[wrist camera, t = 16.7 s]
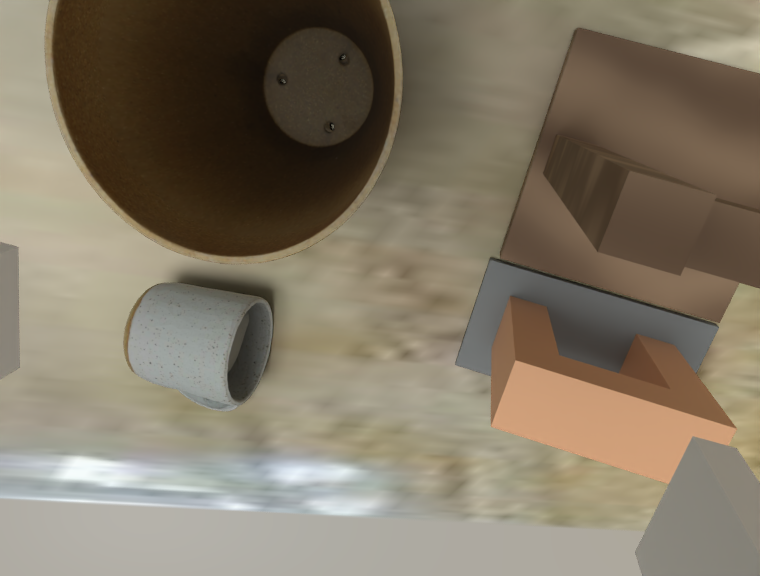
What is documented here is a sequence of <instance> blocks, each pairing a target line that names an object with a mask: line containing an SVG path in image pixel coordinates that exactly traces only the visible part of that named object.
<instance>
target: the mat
mask: <svg viewBox="0 0 760 576" xmlns="http://www.w3.org/2000/svg"><path fill="white" fill-rule="evenodd" d="M510 296H513V297H516V298H519V299H523V300H526V301H529V302H533V303H536V304H539V305H543V306H546V307H547V310H548V314H549V318H550V321H551V325H552V329H553V333H554V337H555V341H556V345H557V348H558V352H559V355H560V356H564V357H567V358H570V359H573V360H577V361H580V362H583V363H586V364H590V365H593V366H596V367H599V368H603V369H606V370H609V371H612V372H616V373H619V372H620V370H621V367H622V365H623V363H624V360H625V358H626V356H627V354H628V351H629V349H630V347H631V345H632V342H633V340H634V338H635V336H636V334H639V335H643V336H646V337H649V338H653V339H656V340H659V341H663V342H666V343H669V344H673V345H675V346H676V348H677V349H678V350H679V352H680V353H681V354H682V356H683V357H684V358H685V360H686V361H687V362H688V364H689V365H690V366H691V368H692V369H693V370H694V372H695V373H697V371H698V369H699V367H700V365H701V363H702V361H703V359H704V357H705V355H706V353H707V351H708V349H709V347H710V345H711V343H712V340H713V338H714V336H715V334H716V332H717V330H718V328H719V327H718V326H717V325H716V324H714V323H711V322H707V321H704V320H700V319H697V318H694V317H690V316H687V315H683V314H680V313H677V312H673V311H670V310H666V309H663V308H660V307H656V306H653V305H649V304H646V303H643V302H639V301H636V300H632V299H629V298H626V297H622V296H619V295H616V294H612V293H609V292H605V291H602V290H599V289H595V288H592V287H588V286H585V285H582V284H578V283H575V282H571V281H568V280H565V279H561V278H558V277H554V276H551V275H548V274H544V273H541V272H538V271H534V270H531V269H527V268H524V267H521V266H517V265H514V264H510V263H507V262H504V261H500V260H497V259H493V258H490V260H489V263H488V266H487V269H486V272H485V275H484V278H483V281H482V284H481V287H480V290H479V293H478V296H477V299H476V302H475V305H474V308H473V311H472V314H471V317H470V320H469V323H468V326H467V329H466V332H465V335H464V339H463V342H462V345H461V348H460V351H459V354H458V357H457V360H456V364H455V365H457V366H460V367H463V368H467V369H470V370H473V371H476V372H479V373H483V374H486V375H489V376H491V349H492V345H493V343H494V340H495V337H496V334H497V331H498V328H499V326H500V323H501V320H502V317H503V314H504V311H505V308H506V306H507V303H508V300H509V297H510Z"/></svg>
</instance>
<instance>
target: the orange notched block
mask: <svg viewBox="0 0 760 576" xmlns="http://www.w3.org/2000/svg"><path fill="white" fill-rule="evenodd" d="M491 427H493V428H496V429H500V430H503V431H506V432H509V433H512V434H515V435H518V436H521V437H524V438H527V439H531V440H534V441H537V442H540V443H543V444H546V445H549V446H552V447H555V448H559V449H562V450H565V451H568V452H571V453H574V454H577V455H580V456H583V457H587V458H590V459H593V460H596V461H599V462H602V463H605V464H608V465H611V466H614V467H618V468H621V469H624V470H627V471H630V472H633V473H636V474H639V475H642V476H646V477H649V478H652V479H655V480H658V481H661V482H664V483H667V484H669V483H670V481H671V479H672V477H673V475H674V473H675V471H676V469H677V467H678V465H679V463H680V461H681V459H682V457H683V455H684V453H685V451H686V449H687V447H688V445H689V443H690V441H691V439H692V437H693V436H695V437H698V438H702V439H705V440H709V441H712V442H716V443H720V444H723V445H727V446H728V445H729V443H730V441H731V439H732V438H733V436H734V434H735V432H736V430H737V428H736V427H735V425H734V424H733V423H732V421H731V420H730V419H729V417H728V416H727V415H726V413H725V412H724V411H723V409H722V408H721V407H720V405H719V404H718V403H717V401H716V400H715V399H714V397H713V396H712V395H711V393H710V392H709V391H708V389H707V388H706V387H705V385H704V384H703V383H702V381H701V380H700V379H699V377H698V376H697V374H696V373H695V372H694V370H693V369H692V368H691V366H690V365H689V364H688V362H687V361H686V360H685V358H684V357H683V356H682V354H681V353H680V352H679V350H678V349H677V348H676V346H675V345H673V344H669V343H666V342H663V341H659V340H656V339H653V338H649V337H646V336H643V335H639V334H636V336H635V338H634V340H633V342H632V345H631V347H630V349H629V351H628V354H627V356H626V358H625V360H624V363H623V365H622V367H621V370H620V372H619V373H616V372H612V371H609V370H606V369H603V368H599V367H596V366H593V365H590V364H586V363H583V362H580V361H577V360H573V359H570V358H567V357H564V356H560V355H559V352H558V348H557V345H556V341H555V337H554V333H553V329H552V325H551V321H550V318H549V314H548V310H547V307H546V306H543V305H539V304H536V303H533V302H529V301H526V300H523V299H519V298H516V297H513V296H510V297H509V300H508V303H507V306H506V308H505V311H504V314H503V317H502V320H501V323H500V326H499V328H498V331H497V334H496V337H495V340H494V343H493V345H492V349H491Z"/></svg>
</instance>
